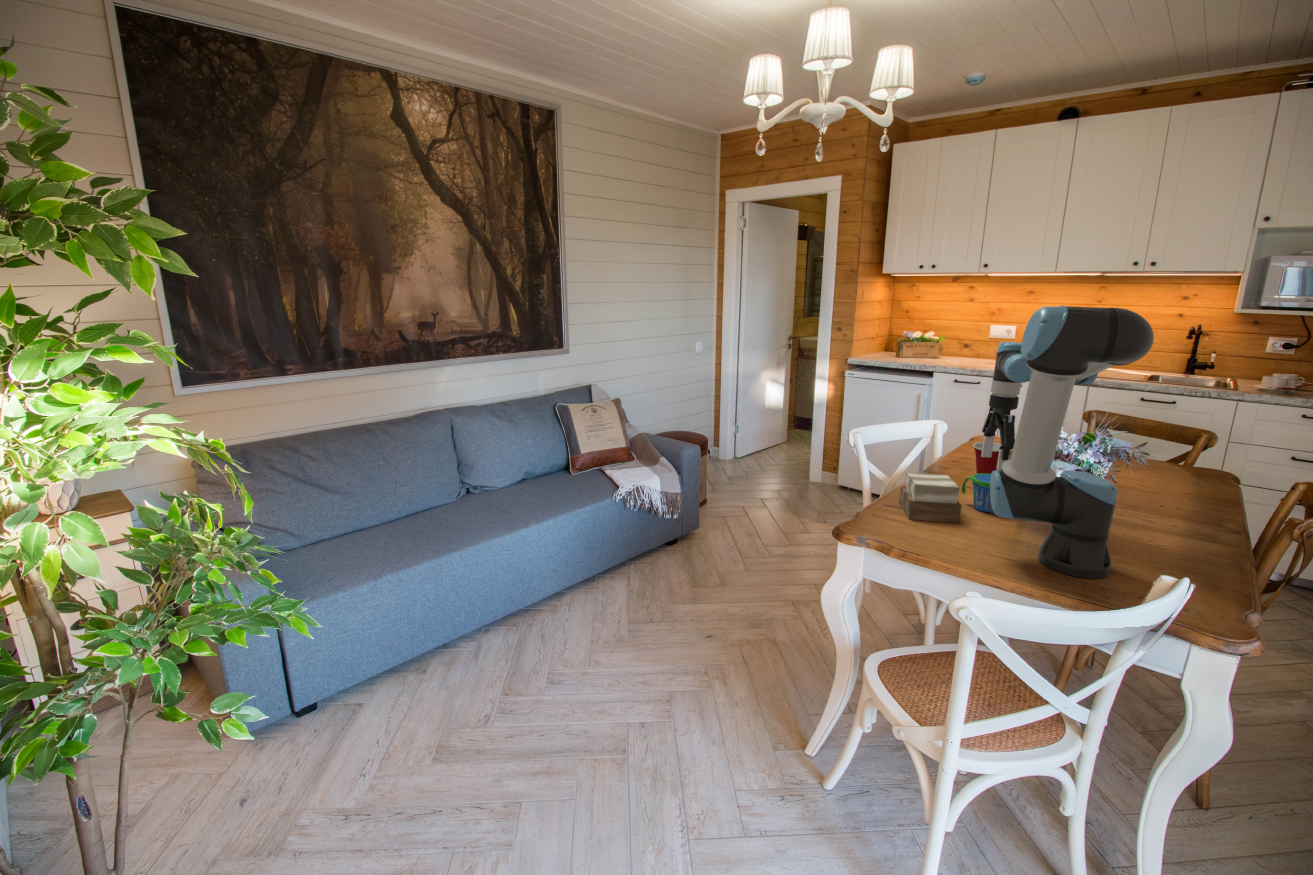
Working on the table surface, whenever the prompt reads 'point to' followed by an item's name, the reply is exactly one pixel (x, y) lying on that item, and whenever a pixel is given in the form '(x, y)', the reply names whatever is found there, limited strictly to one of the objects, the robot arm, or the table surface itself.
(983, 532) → the table surface
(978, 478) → the snack cup
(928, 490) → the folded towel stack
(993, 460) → the plastic cup
